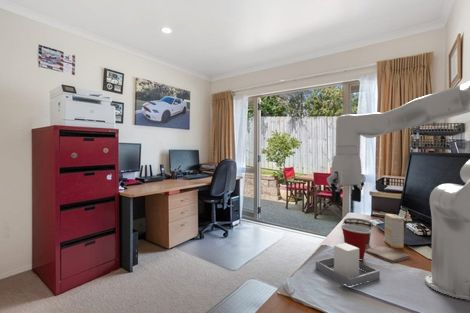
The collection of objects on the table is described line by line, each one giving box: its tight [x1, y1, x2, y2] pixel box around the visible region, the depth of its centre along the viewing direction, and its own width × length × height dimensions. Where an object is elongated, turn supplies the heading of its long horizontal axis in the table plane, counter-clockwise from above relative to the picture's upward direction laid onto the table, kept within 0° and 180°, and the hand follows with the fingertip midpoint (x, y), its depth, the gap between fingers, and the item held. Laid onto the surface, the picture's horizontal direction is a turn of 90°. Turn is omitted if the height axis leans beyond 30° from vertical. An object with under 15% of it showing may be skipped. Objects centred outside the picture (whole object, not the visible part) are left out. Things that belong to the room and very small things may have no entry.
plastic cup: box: [340, 223, 372, 260], centre depth 95 cm, size 11×11×12 cm
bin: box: [315, 256, 381, 287], centre depth 82 cm, size 14×14×2 cm
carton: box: [333, 242, 360, 279], centre depth 82 cm, size 6×6×9 cm
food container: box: [342, 217, 374, 246], centre depth 113 cm, size 12×6×10 cm, turn 65°
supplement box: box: [384, 213, 405, 249], centre depth 109 cm, size 8×5×13 cm, turn 168°
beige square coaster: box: [365, 245, 411, 264], centre depth 97 cm, size 11×11×1 cm
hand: (346, 202), depth 82 cm, fingers open, 9 cm apart
